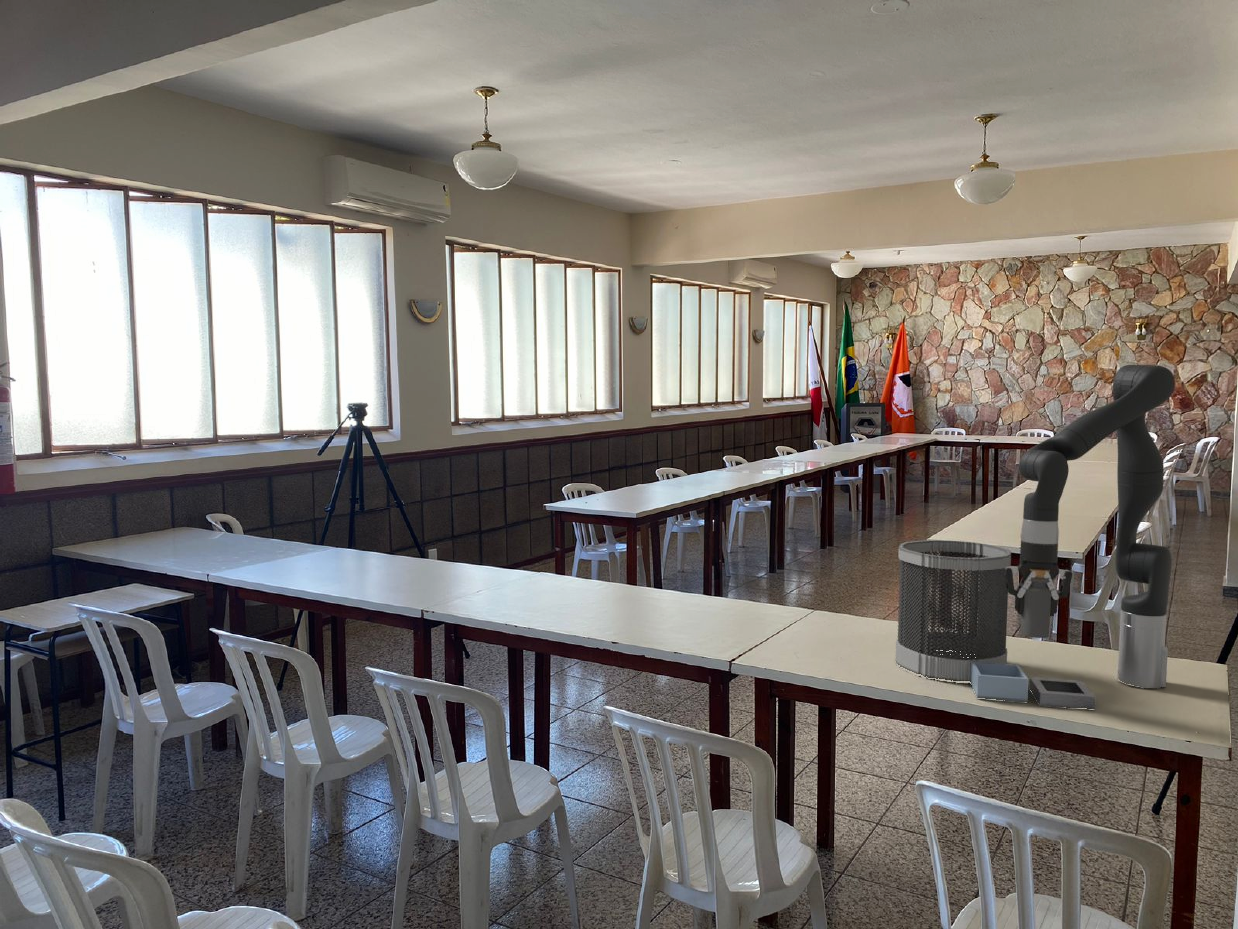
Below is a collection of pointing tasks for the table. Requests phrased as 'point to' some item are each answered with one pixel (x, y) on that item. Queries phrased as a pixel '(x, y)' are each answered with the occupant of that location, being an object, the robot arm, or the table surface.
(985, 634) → the wastebasket
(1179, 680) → the table surface
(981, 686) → the bin
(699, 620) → the table surface
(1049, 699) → the collar
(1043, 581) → the bottle
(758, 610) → the table surface
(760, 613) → the table surface
